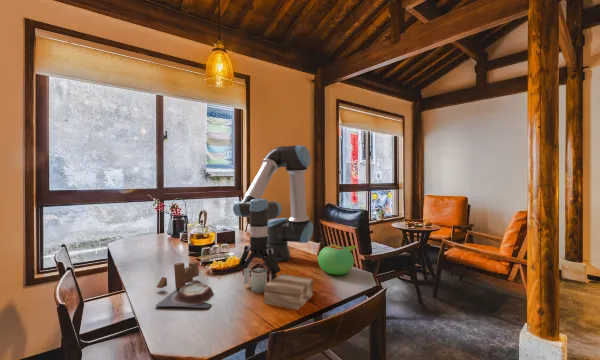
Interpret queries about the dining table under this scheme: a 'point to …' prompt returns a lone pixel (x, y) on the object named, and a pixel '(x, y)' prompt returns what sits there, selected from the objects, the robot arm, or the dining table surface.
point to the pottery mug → (260, 267)
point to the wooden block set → (182, 275)
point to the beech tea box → (288, 291)
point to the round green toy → (336, 259)
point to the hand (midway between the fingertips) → (258, 286)
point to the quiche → (189, 296)
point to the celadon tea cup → (258, 280)
